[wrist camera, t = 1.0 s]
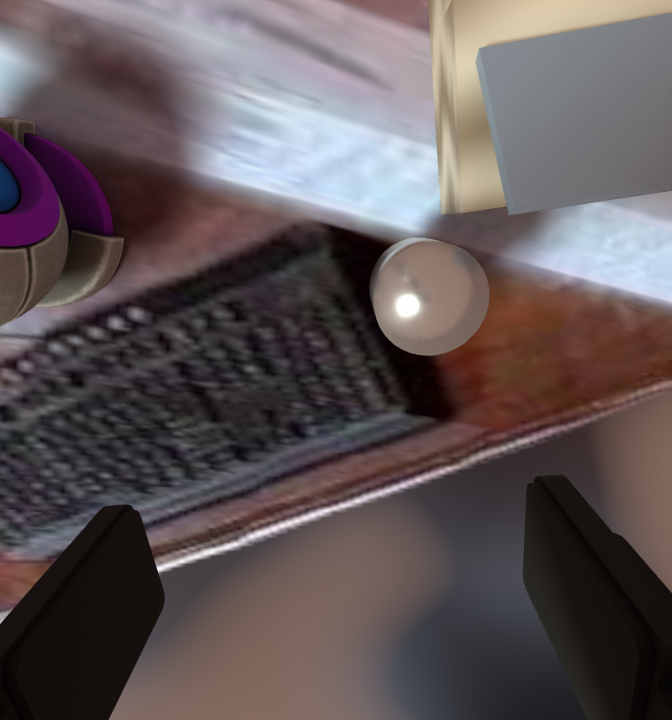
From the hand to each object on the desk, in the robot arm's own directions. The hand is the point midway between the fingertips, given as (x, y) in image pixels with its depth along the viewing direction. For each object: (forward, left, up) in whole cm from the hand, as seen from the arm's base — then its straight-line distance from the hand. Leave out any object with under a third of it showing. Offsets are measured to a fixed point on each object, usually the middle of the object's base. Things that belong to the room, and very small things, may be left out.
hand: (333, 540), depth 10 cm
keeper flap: (-10, +15, -16) cm, 24 cm away
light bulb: (-2, +5, -24) cm, 25 cm away
